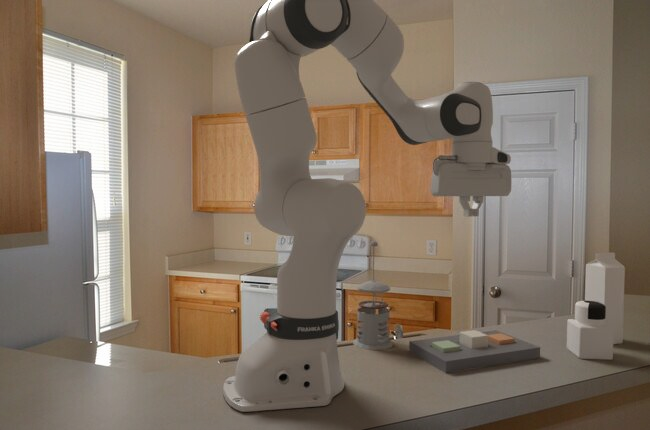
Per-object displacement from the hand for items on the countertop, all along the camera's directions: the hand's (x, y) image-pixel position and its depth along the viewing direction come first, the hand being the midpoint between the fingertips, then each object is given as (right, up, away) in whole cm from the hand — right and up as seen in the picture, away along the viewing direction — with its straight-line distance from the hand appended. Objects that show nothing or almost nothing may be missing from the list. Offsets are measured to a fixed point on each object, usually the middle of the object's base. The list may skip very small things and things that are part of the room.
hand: (471, 216), depth 108 cm
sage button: (-7, -31, -4) cm, 32 cm away
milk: (+36, -31, +9) cm, 48 cm away
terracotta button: (+7, -31, +1) cm, 31 cm away
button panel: (0, -31, -2) cm, 31 cm away
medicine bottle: (+26, -32, -1) cm, 41 cm away
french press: (-22, -31, +7) cm, 39 cm away
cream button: (0, -29, -2) cm, 29 cm away
